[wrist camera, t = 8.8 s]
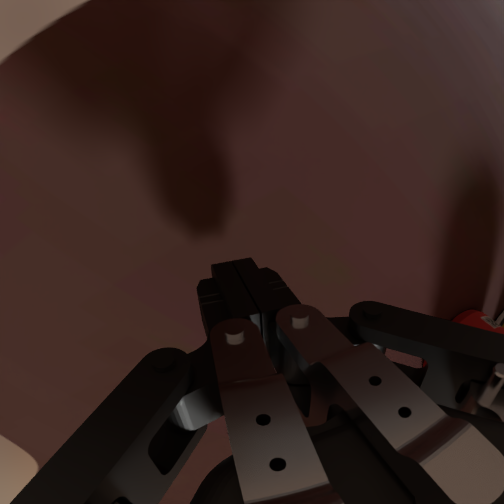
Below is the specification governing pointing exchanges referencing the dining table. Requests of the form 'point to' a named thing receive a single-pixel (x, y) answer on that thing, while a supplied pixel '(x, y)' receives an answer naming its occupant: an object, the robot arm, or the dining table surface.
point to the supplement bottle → (500, 319)
